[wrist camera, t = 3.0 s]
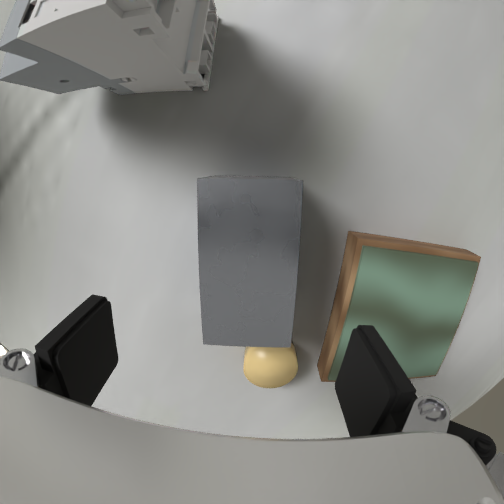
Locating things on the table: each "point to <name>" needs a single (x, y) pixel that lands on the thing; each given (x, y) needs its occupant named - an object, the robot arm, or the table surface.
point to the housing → (248, 258)
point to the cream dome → (270, 365)
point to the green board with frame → (399, 300)
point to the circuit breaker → (110, 45)
